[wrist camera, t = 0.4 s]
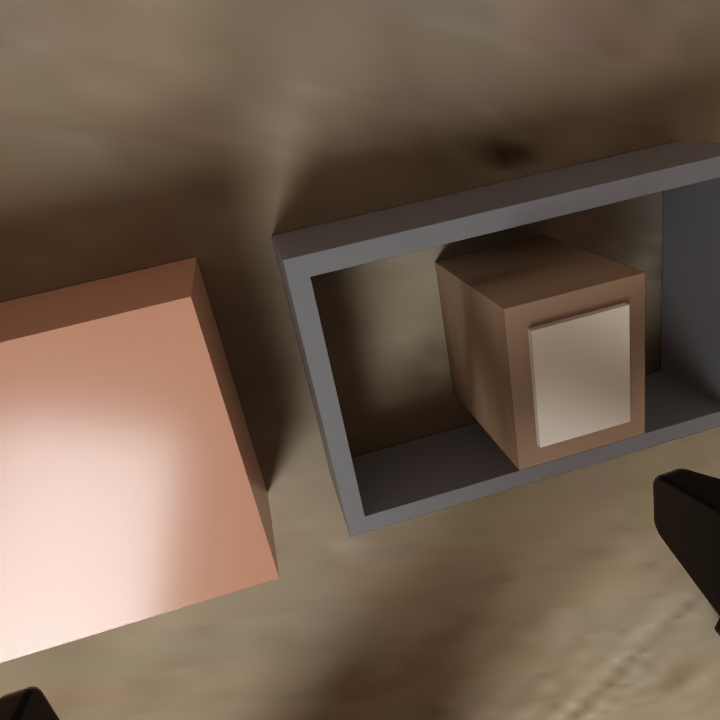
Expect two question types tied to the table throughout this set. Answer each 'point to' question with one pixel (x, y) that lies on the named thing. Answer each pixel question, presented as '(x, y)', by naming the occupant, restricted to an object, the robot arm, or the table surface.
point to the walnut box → (546, 346)
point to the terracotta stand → (121, 460)
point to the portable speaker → (718, 627)
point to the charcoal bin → (491, 214)
